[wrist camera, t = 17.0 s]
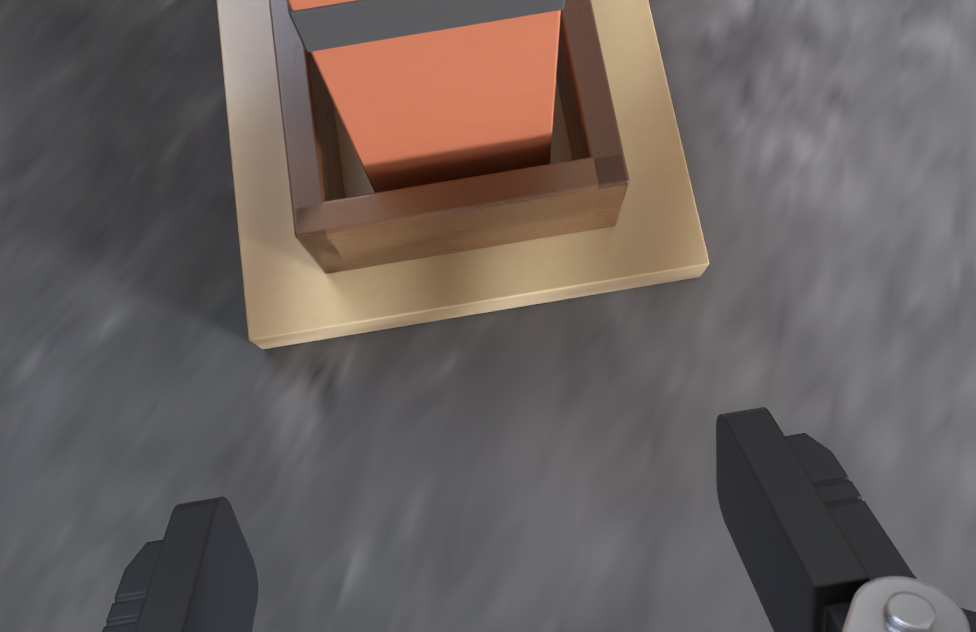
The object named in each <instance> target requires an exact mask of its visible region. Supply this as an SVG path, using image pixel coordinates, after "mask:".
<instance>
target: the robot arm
mask: <svg viewBox="0 0 976 632" xmlns="http://www.w3.org/2000/svg"><path fill="white" fill-rule="evenodd" d="M716 454H717V493H718V499H719V504H720V508H721V512H722V515H723V518H724V521H725V524H726V526H727V528H728V530H729V533H730V535H731V537H732V539H733V541H734V544H735V546H736V548H737V550H738V553H739V555H740V557H741V559H742V561H743V564H744V566H745V568H746V570H747V573H748V575H749V577H750V579H751V581H752V584H753V586H754V588H755V590H756V592H757V595H758V597H759V599H760V601H761V604H762V606H763V608H764V610H765V612H766V615H767V617H768V619H769V621H770V624H771V626H772V628H773V630H774V632H976V612H973V611H969V610H966V609H963V608H961V607H960V606H959V605H958V604H957V603H956V602H955V600H954V599H952V598H951V597H950V596H949V595H948V594H946V593H945V592H943V591H942V590H940V589H939V588H937V587H935V586H933V585H931V584H929V583H927V582H924V581H921V580H918V579H917V578H916V577H915V576H914V574H913V573H912V572H911V570H910V569H909V567H908V566H907V564H906V563H905V561H904V560H903V558H902V557H901V555H900V554H899V552H898V551H897V549H896V548H895V546H894V545H893V543H892V542H891V540H890V539H889V537H888V536H887V534H886V533H885V531H884V530H883V528H882V527H881V525H880V524H879V522H878V521H877V519H876V518H875V516H874V515H873V513H872V512H871V510H870V509H869V507H868V506H867V504H866V503H865V501H862V499H861V495H860V494H859V492H858V491H857V489H856V488H855V486H854V485H853V483H852V482H851V481H849V480H848V476H847V474H846V473H845V471H844V470H843V468H842V467H841V465H840V464H839V462H838V461H837V459H836V458H835V456H834V455H833V453H832V452H831V451H830V450H828V449H827V448H825V447H824V446H823V445H821V444H820V443H818V442H817V441H815V440H814V439H813V438H811V437H810V436H808V435H807V434H806V433H802V434H796V435H790V436H784V435H783V433H782V431H781V430H780V428H779V426H778V425H777V423H776V421H775V420H774V418H773V417H772V415H771V413H770V412H769V411H768V409H766V408H765V407H762V408H756V409H750V410H744V411H738V412H732V413H726V414H720V415H719V416H718V417H717V423H716ZM257 599H258V580H257V572H256V567H255V564H254V561H253V558H252V556H251V553H250V551H249V548H248V546H247V543H246V541H245V539H244V536H243V534H242V531H241V529H240V526H239V524H238V522H237V519H236V517H235V514H234V512H233V509H232V507H231V505H230V503H229V501H228V500H227V499H226V498H225V497H219V498H213V499H207V500H201V501H195V502H189V503H183V504H178V505H177V506H176V507H175V508H174V509H173V512H172V514H171V517H170V521H169V524H168V527H167V530H166V533H165V536H164V539H163V540H158V541H152V542H147V543H146V544H145V545H144V547H143V548H142V549H141V550H140V551H139V553H138V554H137V555H136V556H135V558H134V559H133V560H132V561H131V563H130V564H129V565H128V566H127V568H126V569H125V571H124V573H123V576H122V579H121V582H120V584H119V587H118V590H117V593H116V595H115V603H113V604H112V607H111V609H110V612H109V615H108V618H107V620H106V622H107V626H106V627H104V629H103V631H102V632H252V627H253V622H254V616H255V611H256V605H257Z"/></svg>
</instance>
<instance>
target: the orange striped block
mask: <svg viewBox="0 0 976 632" xmlns="http://www.w3.org/2000/svg"><path fill="white" fill-rule="evenodd" d="M287 5H288V13H289V16H290V18H291V20H292V22H293V24H294V26H295V29H296V31H297V33H298V35H299V37H300V39H301V41H302V44H303V46H304V48H305V50H306V51H307V52H311V54H312V57H313V59H314V61H315V63H316V65H317V68H318V70H319V72H320V74H321V76H322V79H323V81H324V83H325V85H326V87H327V89H328V92H329V94H330V96H331V98H332V100H333V103H334V105H335V107H336V109H337V111H338V114H339V116H340V118H341V120H342V122H343V125H344V127H345V129H346V131H347V133H348V136H349V138H350V140H351V142H352V144H353V147H354V149H355V151H356V153H357V155H358V157H359V160H360V162H361V164H362V166H363V168H364V171H365V173H366V175H367V177H368V179H369V182H370V184H371V186H372V188H373V190H374V193H378V192H384V191H390V190H396V189H402V188H408V187H414V186H420V185H426V184H432V183H438V182H444V181H450V180H456V179H462V178H468V177H474V176H480V175H486V174H492V173H498V172H504V171H510V170H516V169H522V168H528V167H534V166H540V165H546V164H550V156H551V142H552V127H553V113H554V99H555V85H556V71H557V56H558V42H559V28H560V14H561V10H562V9H564V7H565V0H287Z"/></svg>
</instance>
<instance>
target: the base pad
mask: <svg viewBox="0 0 976 632" xmlns="http://www.w3.org/2000/svg"><path fill="white" fill-rule="evenodd" d="M216 1H217V11H218V22H219V32H220V43H221V54H222V64H223V75H224V85H225V96H226V106H227V117H228V128H229V138H230V149H231V159H232V170H233V181H234V191H235V202H236V212H237V223H238V234H239V244H240V255H241V265H242V276H243V286H244V297H245V308H246V318H247V329H248V339H249V341H251V342H252V343H254V344H255V345H257V346H258V347H260V348H261V349H268V348H274V347H280V346H286V345H292V344H298V343H304V342H310V341H316V340H322V339H328V338H335V337H341V336H347V335H353V334H359V333H365V332H371V331H377V330H383V329H389V328H395V327H401V326H407V325H413V324H419V323H425V322H431V321H437V320H443V319H449V318H455V317H461V316H467V315H473V314H479V313H485V312H491V311H497V310H504V309H510V308H516V307H522V306H528V305H534V304H540V303H546V302H552V301H558V300H564V299H570V298H576V297H582V296H588V295H594V294H600V293H606V292H612V291H618V290H624V289H630V288H636V287H642V286H648V285H654V284H660V283H667V282H673V281H679V280H685V279H691V278H697V277H700V276H701V275H702V274H703V272H704V271H705V269H706V268H707V267H708V265H709V259H708V255H707V250H706V246H705V242H704V238H703V233H702V229H701V225H700V220H699V216H698V212H697V208H696V203H695V199H694V195H693V190H692V186H691V182H690V177H689V173H688V169H687V165H686V160H685V156H684V152H683V147H682V143H681V139H680V135H679V130H678V126H677V122H676V117H675V113H674V109H673V105H672V100H671V96H670V92H669V87H668V83H667V79H666V74H665V70H664V66H663V62H662V57H661V53H660V49H659V44H658V40H657V36H656V32H655V27H654V23H653V19H652V14H651V10H650V6H649V2H648V0H565V7H564V9H562V10H561V14H560V28H559V42H558V56H557V71H556V85H555V99H554V113H553V127H552V142H551V156H550V164H546V165H540V166H534V167H528V168H522V169H516V170H510V171H504V172H498V173H492V174H486V175H480V176H474V177H468V178H462V179H456V180H450V181H444V182H438V183H432V184H426V185H420V186H414V187H408V188H402V189H396V190H390V191H384V192H378V193H374V190H373V188H372V186H371V184H370V182H369V179H368V177H367V175H366V173H365V171H364V168H363V166H362V164H361V162H360V160H359V157H358V155H357V153H356V151H355V149H354V147H353V144H352V142H351V140H350V138H349V136H348V133H347V131H346V129H345V127H344V125H343V122H342V120H341V118H340V116H339V114H338V111H337V109H336V107H335V105H334V103H333V100H332V98H331V96H330V94H329V92H328V89H327V87H326V85H325V83H324V81H323V79H322V76H321V74H320V72H319V70H318V68H317V65H316V63H315V61H314V59H313V57H312V54H311V52H307V51H306V50H305V48H304V46H303V44H302V41H301V39H300V37H299V35H298V33H297V31H296V29H295V26H294V24H293V22H292V20H291V18H290V16H289V13H288V5H287V0H216Z"/></svg>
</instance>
